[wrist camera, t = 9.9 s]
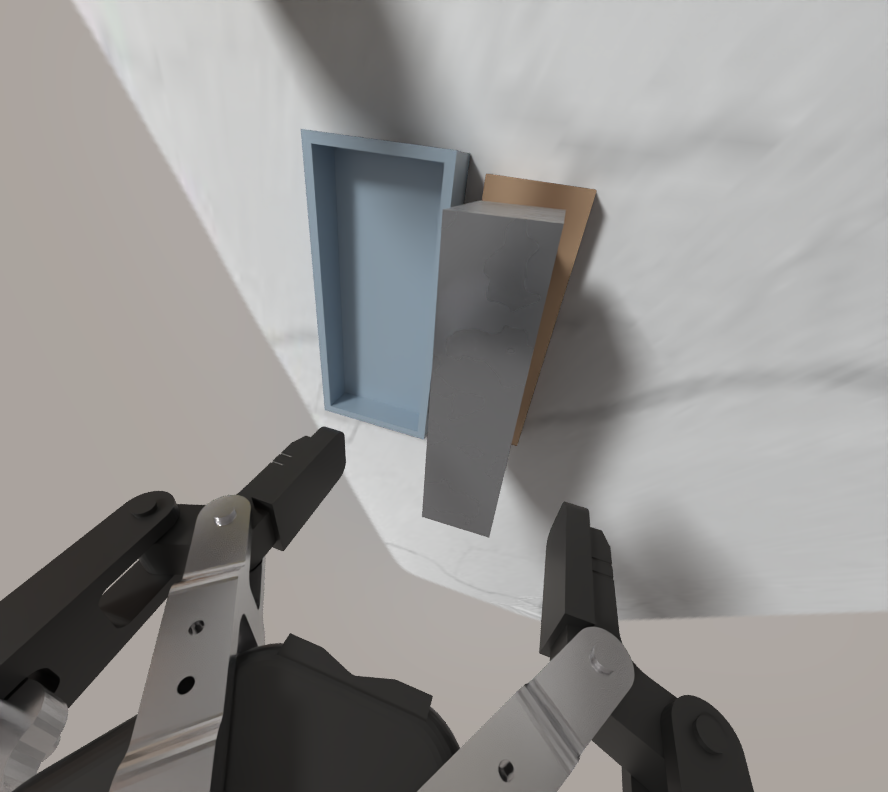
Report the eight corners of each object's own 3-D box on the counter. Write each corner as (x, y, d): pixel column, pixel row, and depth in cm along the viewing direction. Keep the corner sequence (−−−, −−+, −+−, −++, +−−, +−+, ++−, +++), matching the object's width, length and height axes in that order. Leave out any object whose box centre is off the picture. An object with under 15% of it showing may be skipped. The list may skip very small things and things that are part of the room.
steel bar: (565, 209, 16) (564, 223, 11) (505, 466, 25) (489, 537, 20) (479, 200, 17) (442, 209, 12) (450, 451, 25) (421, 516, 21)
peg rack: (595, 189, 20) (602, 192, 15) (519, 435, 30) (510, 480, 25) (490, 174, 21) (469, 172, 16) (451, 415, 31) (431, 456, 26)
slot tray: (470, 153, 21) (456, 150, 18) (435, 419, 31) (423, 439, 29) (330, 134, 22) (300, 129, 20) (342, 392, 33) (324, 409, 31)
